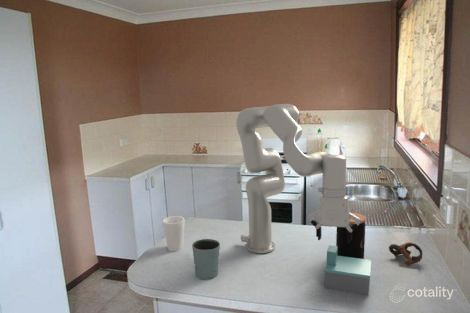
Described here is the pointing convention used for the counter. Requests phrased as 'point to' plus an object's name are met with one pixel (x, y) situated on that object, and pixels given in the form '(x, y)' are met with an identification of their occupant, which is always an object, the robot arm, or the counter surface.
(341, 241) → the coffee jar
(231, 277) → the counter surface
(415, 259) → the brown looped piece
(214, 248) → the green tapered cup
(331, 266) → the teal platform with post
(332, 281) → the tub
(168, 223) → the foam cup
